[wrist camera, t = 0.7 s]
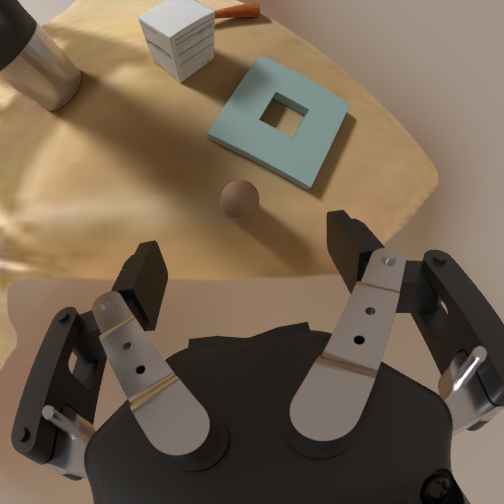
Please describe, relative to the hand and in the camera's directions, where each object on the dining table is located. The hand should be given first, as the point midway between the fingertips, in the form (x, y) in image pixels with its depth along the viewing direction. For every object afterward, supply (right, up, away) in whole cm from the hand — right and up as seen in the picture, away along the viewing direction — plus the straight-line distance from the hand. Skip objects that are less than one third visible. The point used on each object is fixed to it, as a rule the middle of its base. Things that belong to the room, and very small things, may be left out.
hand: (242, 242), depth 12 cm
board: (+5, +19, +25) cm, 32 cm away
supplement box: (-11, +31, +22) cm, 39 cm away
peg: (-2, +6, +25) cm, 26 cm away
